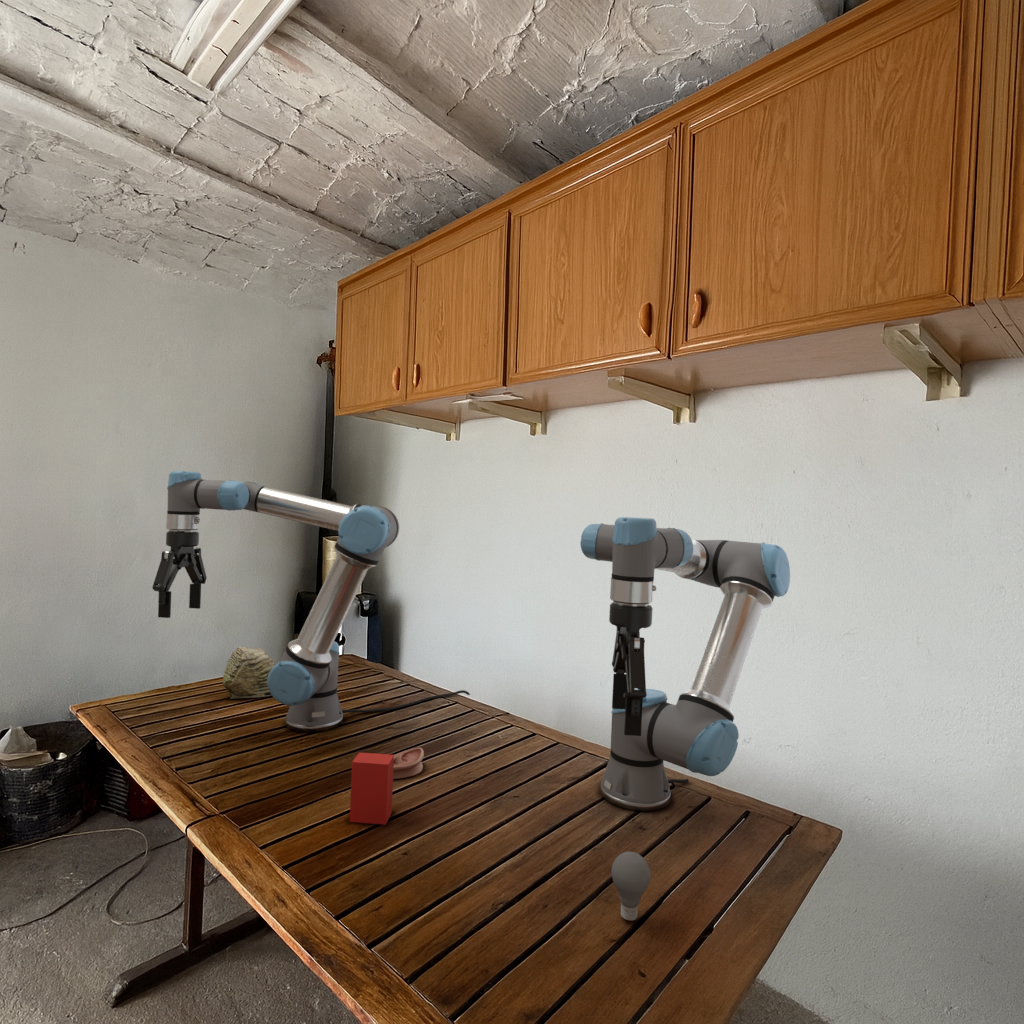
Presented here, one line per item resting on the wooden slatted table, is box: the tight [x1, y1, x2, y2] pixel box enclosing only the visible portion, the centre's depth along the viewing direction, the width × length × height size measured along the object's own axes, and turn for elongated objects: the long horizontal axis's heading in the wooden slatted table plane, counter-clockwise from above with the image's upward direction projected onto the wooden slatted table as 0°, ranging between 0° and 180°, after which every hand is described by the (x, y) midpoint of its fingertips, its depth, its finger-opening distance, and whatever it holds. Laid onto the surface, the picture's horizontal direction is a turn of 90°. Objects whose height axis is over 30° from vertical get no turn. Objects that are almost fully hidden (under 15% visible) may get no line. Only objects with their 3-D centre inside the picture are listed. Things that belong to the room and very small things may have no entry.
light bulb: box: [611, 851, 652, 921], centre depth 99 cm, size 6×6×10 cm
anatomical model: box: [393, 747, 425, 780], centre depth 148 cm, size 13×4×12 cm
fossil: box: [222, 646, 276, 699], centre depth 198 cm, size 9×18×15 cm, turn 132°
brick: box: [349, 751, 395, 826], centre depth 126 cm, size 7×5×12 cm, turn 87°
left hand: (180, 612), depth 164 cm, fingers open, 13 cm apart
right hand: (625, 721), depth 114 cm, fingers open, 13 cm apart
